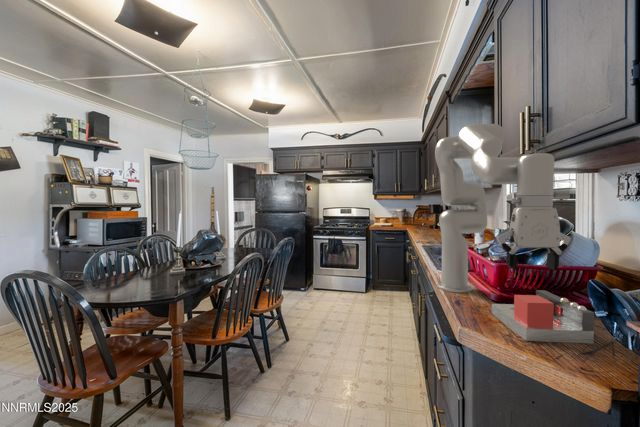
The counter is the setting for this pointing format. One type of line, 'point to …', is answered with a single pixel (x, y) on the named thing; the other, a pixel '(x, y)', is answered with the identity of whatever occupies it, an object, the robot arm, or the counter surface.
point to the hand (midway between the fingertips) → (531, 268)
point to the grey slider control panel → (567, 321)
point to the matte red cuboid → (533, 310)
